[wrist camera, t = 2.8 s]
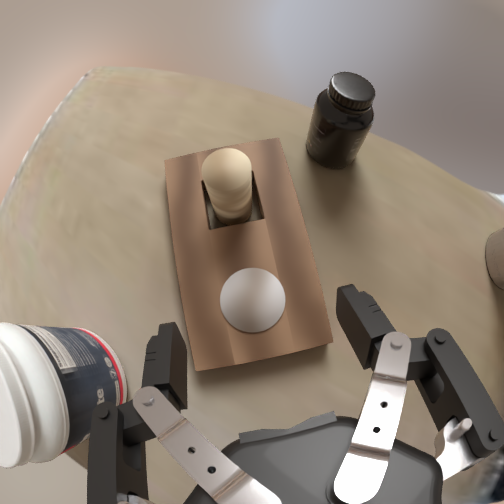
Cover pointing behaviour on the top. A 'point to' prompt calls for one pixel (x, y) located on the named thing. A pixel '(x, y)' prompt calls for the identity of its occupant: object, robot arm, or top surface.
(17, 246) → the top surface
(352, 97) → the supplement bottle
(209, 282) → the walnut board
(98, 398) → the supplement tub
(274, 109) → the top surface
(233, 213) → the birch peg
